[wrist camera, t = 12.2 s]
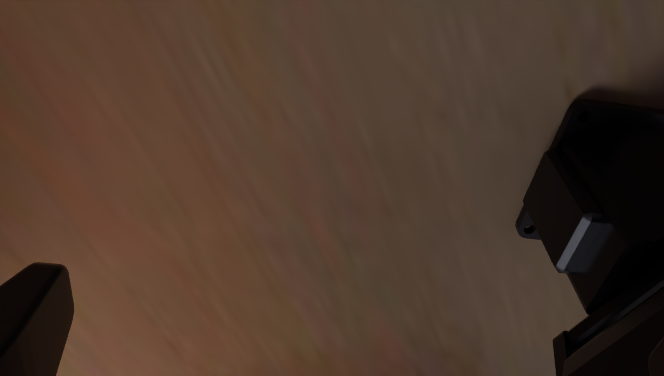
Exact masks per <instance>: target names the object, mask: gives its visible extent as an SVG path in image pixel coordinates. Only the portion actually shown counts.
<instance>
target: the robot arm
mask: <svg viewBox="0 0 664 376" xmlns="http://www.w3.org/2000/svg"><path fill="white" fill-rule="evenodd" d="M584 110H587V112H586V114H585V115H583V116H582V117H577V116H578V114H579V113H580V112H582V111H584ZM523 203H524V206H523V208H522V210H521V212H520V214H519V217H518V219H517V221H516V224H515V226H516V229H517V231H518V234H519V235H520V236H521V237H523V238H529V239H538V240H542V242H543V244H544V246H545V249H546V251H547V253H548V255H549V257H550V259H551V261H552V263H553V265H554V267H555V268H556V270H557V271H558V272H559V273H566V274H567V276H568V278H569V280H570V282H571V284H572V286H573V287H574V289H575V291H576V293H577V295H578V297H579V299H580V301H581V303H582V305H583V307H584V309H585V311H586V313H587V314H588V315H589V316H587V317H586V318H585V319H584V320H582V321H581V322H580V323H578V324H577V325H576V326H574V327H573V328H572V329H571V330H569V331H563V332H562V333H561V334H559V335H558V336H557V337H555V338H554V339H553V349H554V358H555V368H556V376H664V110H659V109H652V108H645V107H637V106H630V105H623V104H616V103H609V102H602V101H595V100H588V99H580V100H578V101H575V102H574V103H573V104H571V105H570V107H569V108H568V110H567V112H566V114H565V116H564V118H563V120H562V123H561V125H560V127H559V129H558V131H557V134H556V136H555V138H554V140H553V142H552V144H551V147H550V149H548V150H547V151H546V152H545V153H544V155H543V157H542V159H541V161H540V164H539V166H538V168H537V170H536V173H535V175H534V177H533V179H532V181H531V184H530V186H529V188H528V190H527V192H526V195H525V197H524V199H523ZM528 225H531V226H530V227H528V228H525V227H526V226H528ZM73 315H74V302H73V296H72V290H71V284H70V278H69V273H68V270H67V268H66V267H65V266H64V265H61V264H52V263H41V262H36V263H33V264H30V265H29V266H27V267H26V268H24V269H23V270H21V271H20V272H19V273H17V274H16V275H15V276H13V277H12V278H10V279H9V280H8V281H6V282H5V283H3V284H2V285H1V286H0V376H56V373H57V370H58V367H59V363H60V360H61V357H62V354H63V350H64V347H65V344H66V340H67V337H68V334H69V331H70V327H71V324H72V320H73Z"/></svg>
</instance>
